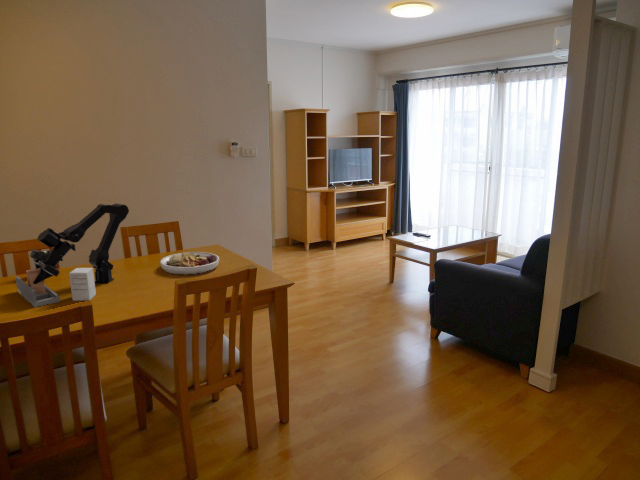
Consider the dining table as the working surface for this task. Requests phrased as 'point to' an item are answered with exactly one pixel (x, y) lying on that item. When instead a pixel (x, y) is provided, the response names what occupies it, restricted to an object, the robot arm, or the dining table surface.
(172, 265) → the bowl
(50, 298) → the channel deck
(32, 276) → the terracotta block
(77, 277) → the supplement box
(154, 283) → the dining table surface
